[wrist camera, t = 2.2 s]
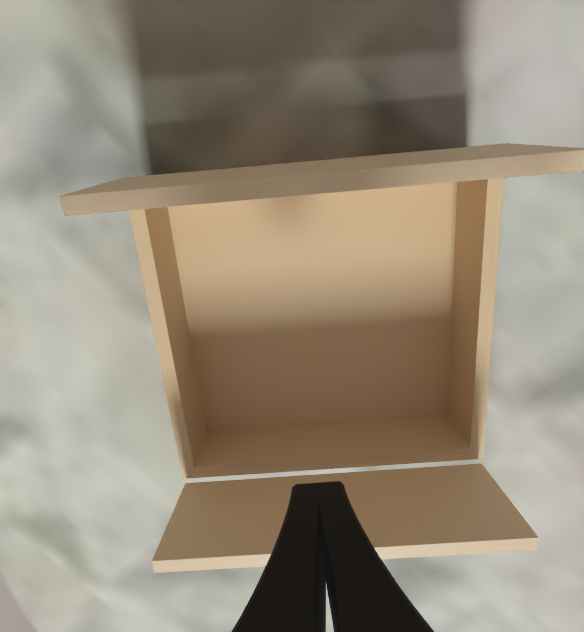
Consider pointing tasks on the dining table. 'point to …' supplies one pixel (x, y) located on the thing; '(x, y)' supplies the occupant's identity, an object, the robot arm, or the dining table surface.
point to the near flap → (323, 177)
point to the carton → (325, 326)
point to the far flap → (369, 506)
